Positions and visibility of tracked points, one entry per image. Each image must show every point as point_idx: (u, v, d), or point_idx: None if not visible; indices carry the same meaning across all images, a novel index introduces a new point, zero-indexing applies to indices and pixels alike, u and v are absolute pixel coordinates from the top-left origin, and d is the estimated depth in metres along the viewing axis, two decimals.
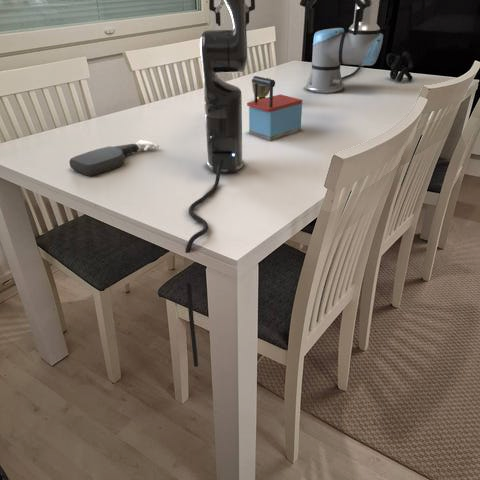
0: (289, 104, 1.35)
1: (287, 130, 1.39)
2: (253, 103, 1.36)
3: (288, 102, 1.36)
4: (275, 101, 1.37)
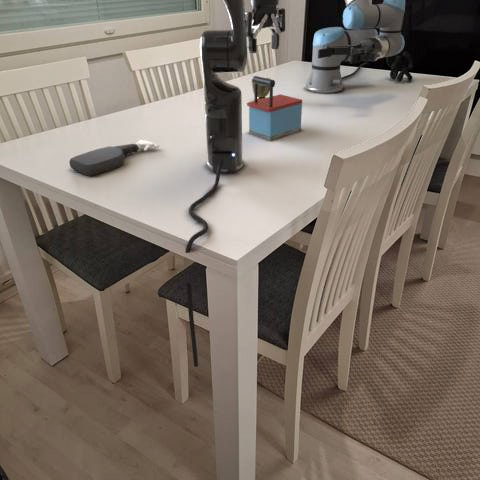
0: (289, 104, 1.35)
1: (287, 130, 1.39)
2: (253, 103, 1.36)
3: (288, 102, 1.36)
4: (275, 101, 1.37)
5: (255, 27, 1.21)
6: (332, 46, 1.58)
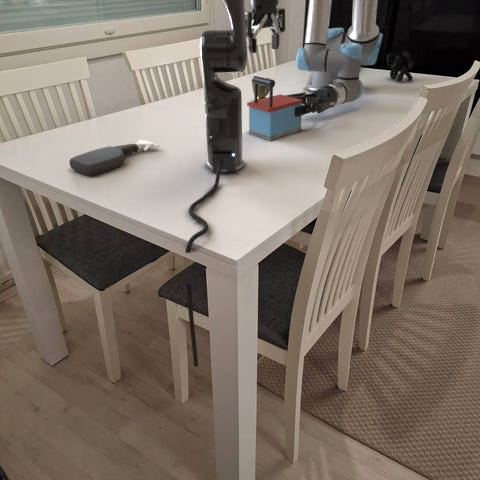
0: (289, 104, 1.35)
1: (287, 130, 1.39)
2: (253, 103, 1.36)
3: (288, 102, 1.36)
4: (275, 101, 1.37)
5: (255, 27, 1.21)
6: (288, 95, 1.51)
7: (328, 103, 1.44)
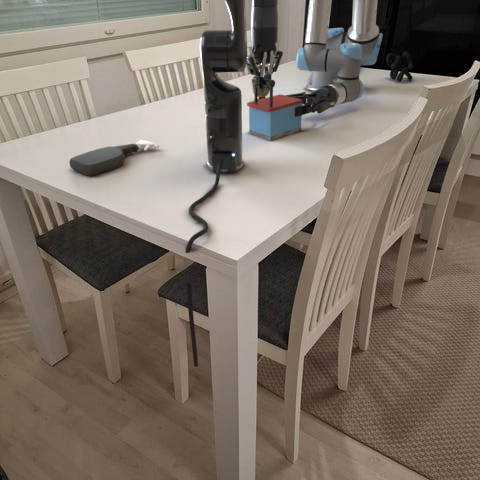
0: (289, 104, 1.35)
1: (287, 130, 1.39)
2: (253, 103, 1.36)
3: (288, 102, 1.36)
4: (275, 101, 1.37)
5: (259, 67, 1.27)
6: (288, 95, 1.51)
7: (328, 103, 1.44)
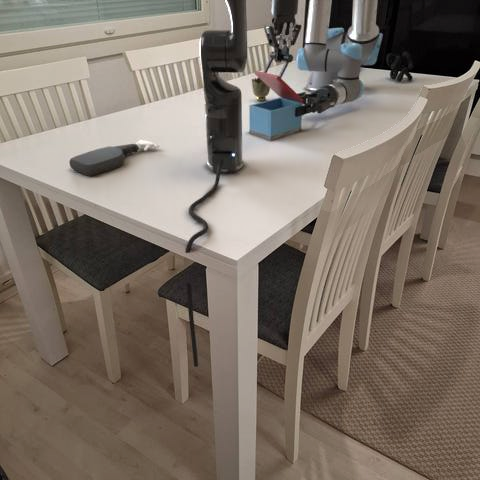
0: (293, 91, 1.34)
1: (287, 130, 1.40)
2: None
3: None
4: None
5: (278, 38, 1.28)
6: None
7: (328, 103, 1.44)
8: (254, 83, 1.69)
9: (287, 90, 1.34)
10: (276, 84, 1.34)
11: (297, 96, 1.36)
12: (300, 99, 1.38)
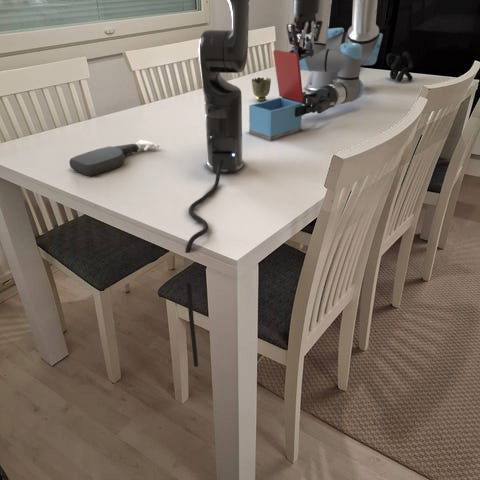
0: (300, 83, 1.35)
1: (287, 130, 1.39)
2: None
3: None
4: None
5: (299, 36, 1.33)
6: None
7: (328, 103, 1.44)
8: (254, 83, 1.69)
9: (296, 78, 1.35)
10: (289, 69, 1.35)
11: (301, 91, 1.37)
12: (302, 97, 1.38)
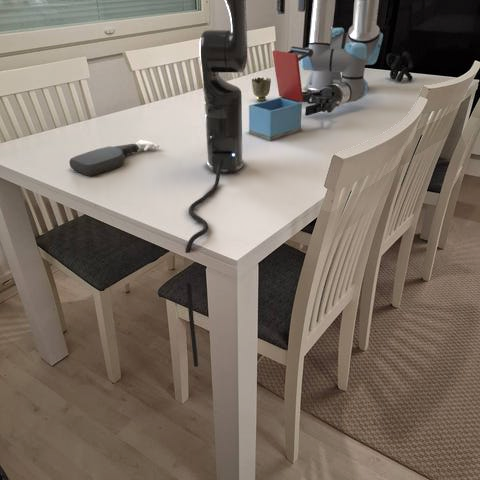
0: (300, 83, 1.35)
1: (287, 130, 1.39)
2: None
3: None
4: None
5: None
6: None
7: (335, 102, 1.45)
8: (254, 83, 1.69)
9: (296, 78, 1.34)
10: (288, 69, 1.35)
11: (301, 91, 1.37)
12: (301, 97, 1.38)
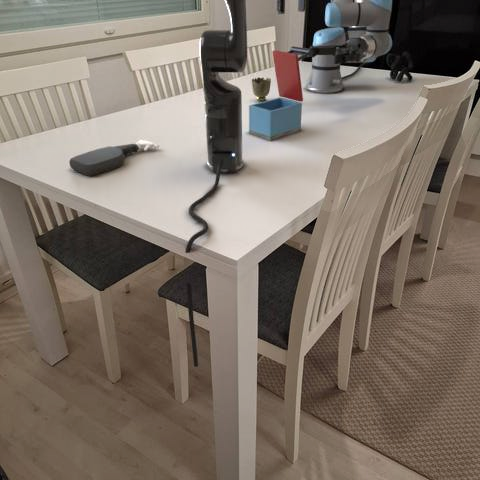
0: (300, 83, 1.35)
1: (287, 130, 1.39)
2: None
3: None
4: None
5: None
6: (317, 46, 1.52)
7: (362, 52, 1.45)
8: (254, 83, 1.69)
9: (296, 78, 1.34)
10: (288, 69, 1.35)
11: (301, 91, 1.37)
12: (301, 97, 1.38)
